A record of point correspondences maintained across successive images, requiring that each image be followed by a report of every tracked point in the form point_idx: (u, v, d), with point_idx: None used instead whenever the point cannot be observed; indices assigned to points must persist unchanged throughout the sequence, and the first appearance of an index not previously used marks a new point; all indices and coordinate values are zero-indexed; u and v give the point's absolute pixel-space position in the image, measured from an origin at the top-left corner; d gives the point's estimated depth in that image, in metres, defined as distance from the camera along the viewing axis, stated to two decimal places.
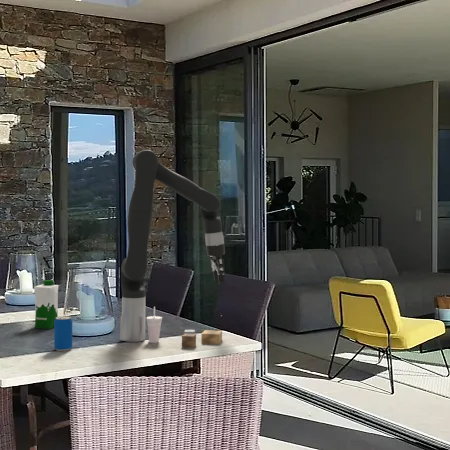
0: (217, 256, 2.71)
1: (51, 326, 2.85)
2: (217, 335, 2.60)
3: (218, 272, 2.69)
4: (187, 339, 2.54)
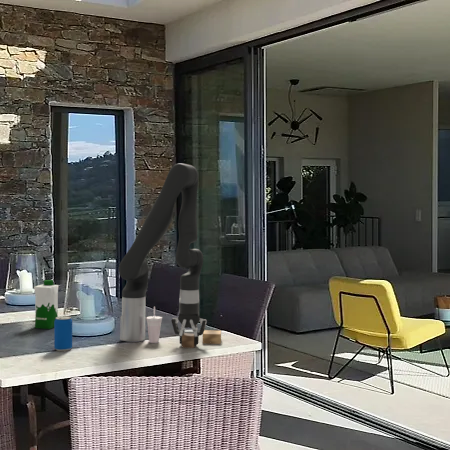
0: None
1: (51, 326, 2.85)
2: (218, 335, 2.61)
3: None
4: (187, 339, 2.54)
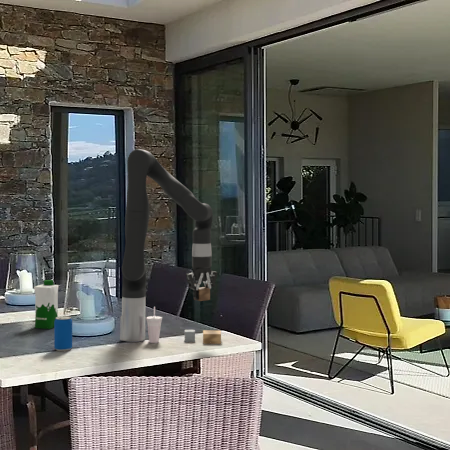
0: (193, 268, 2.57)
1: (51, 326, 2.85)
2: (219, 335, 2.61)
3: None
4: (205, 292, 2.57)
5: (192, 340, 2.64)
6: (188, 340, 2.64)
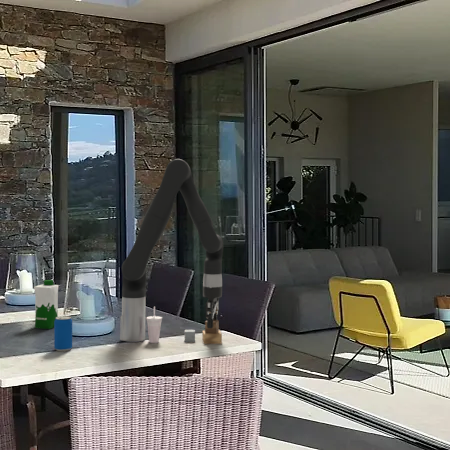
0: (209, 298, 2.60)
1: (51, 326, 2.85)
2: (220, 335, 2.61)
3: None
4: (217, 324, 2.64)
5: (192, 340, 2.64)
6: (188, 340, 2.64)
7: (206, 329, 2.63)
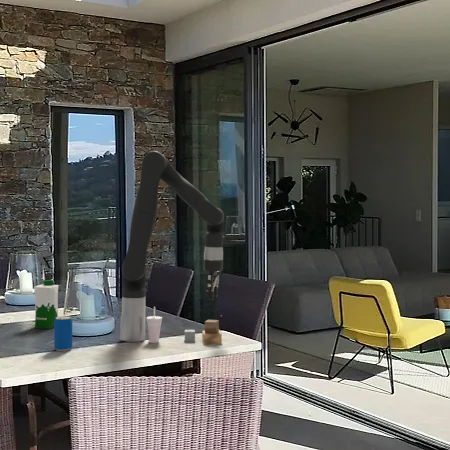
0: (210, 271, 2.60)
1: (51, 326, 2.85)
2: (219, 335, 2.61)
3: None
4: (217, 324, 2.64)
5: (192, 340, 2.64)
6: (188, 340, 2.64)
7: (206, 329, 2.63)
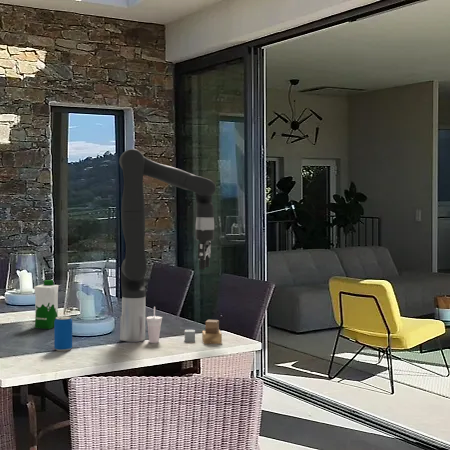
0: (201, 241, 2.68)
1: (51, 326, 2.85)
2: (220, 335, 2.61)
3: None
4: (217, 324, 2.64)
5: (192, 340, 2.64)
6: (188, 340, 2.64)
7: (206, 329, 2.63)
